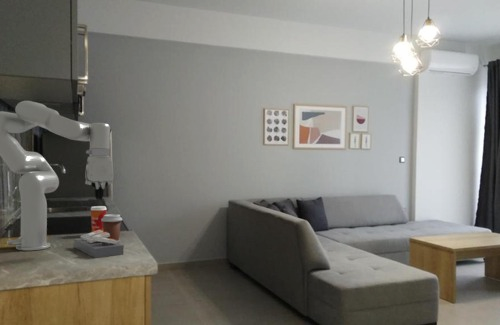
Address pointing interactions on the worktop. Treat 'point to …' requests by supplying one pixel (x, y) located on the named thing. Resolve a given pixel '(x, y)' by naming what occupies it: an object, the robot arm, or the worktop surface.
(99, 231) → the plate
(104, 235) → the rocker middle
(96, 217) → the paper cup
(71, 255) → the worktop surface
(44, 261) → the worktop surface
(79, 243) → the rocker switch panel
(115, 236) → the coffee cup
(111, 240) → the rocker near
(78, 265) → the worktop surface
